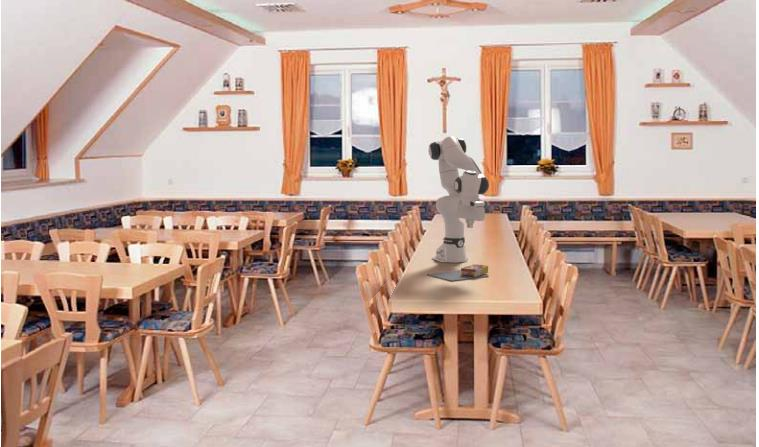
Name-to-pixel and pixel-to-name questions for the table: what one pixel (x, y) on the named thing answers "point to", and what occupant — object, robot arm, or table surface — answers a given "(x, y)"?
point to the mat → (454, 276)
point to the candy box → (474, 270)
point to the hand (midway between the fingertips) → (469, 227)
